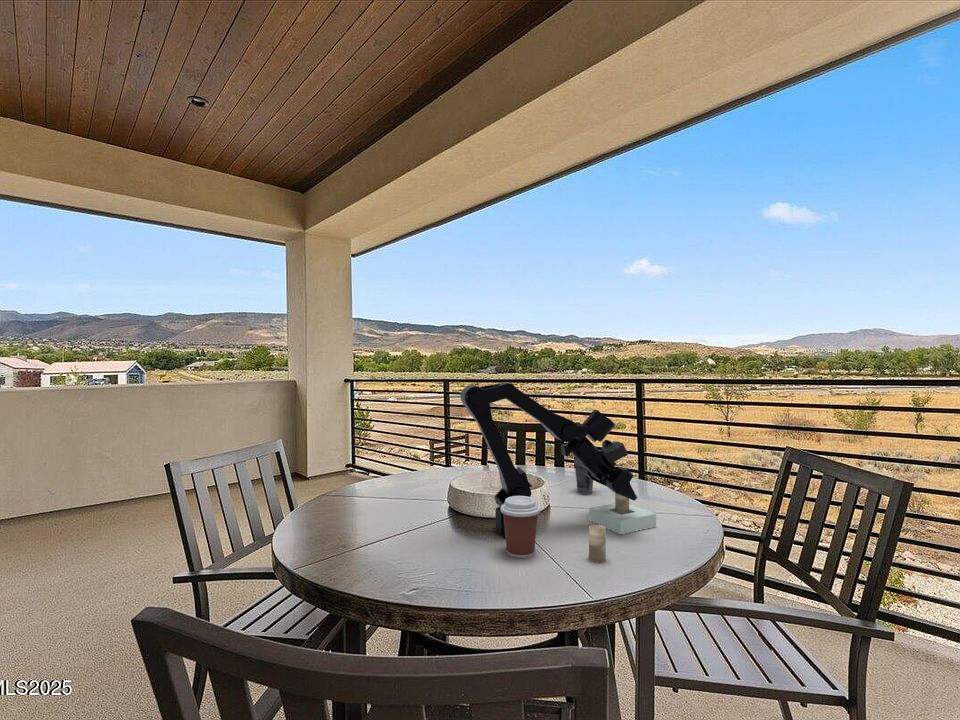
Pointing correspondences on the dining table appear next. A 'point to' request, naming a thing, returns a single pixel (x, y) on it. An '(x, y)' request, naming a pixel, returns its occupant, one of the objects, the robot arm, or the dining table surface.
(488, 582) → the dining table surface
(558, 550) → the dining table surface
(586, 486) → the beverage cup
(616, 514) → the collar block
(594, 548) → the short pin
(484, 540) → the dining table surface
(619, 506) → the tall pin
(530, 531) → the coffee cup
